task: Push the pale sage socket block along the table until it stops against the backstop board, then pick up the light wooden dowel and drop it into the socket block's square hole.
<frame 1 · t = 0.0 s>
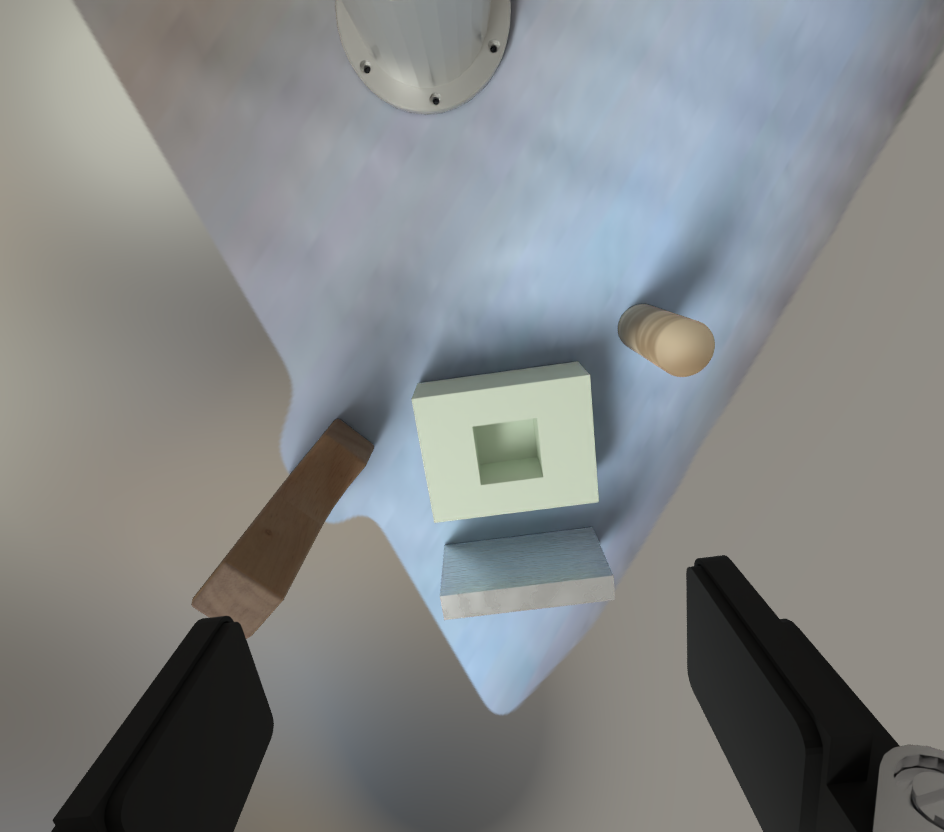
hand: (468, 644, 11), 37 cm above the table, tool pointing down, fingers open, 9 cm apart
wooden block: (329, 463, 50), on the table
socket block: (506, 441, 46), point 3 cm above the table, slide at 0.0 cm
backstop board: (519, 546, 52), on the table
wooden dowel: (640, 327, 45), on the table
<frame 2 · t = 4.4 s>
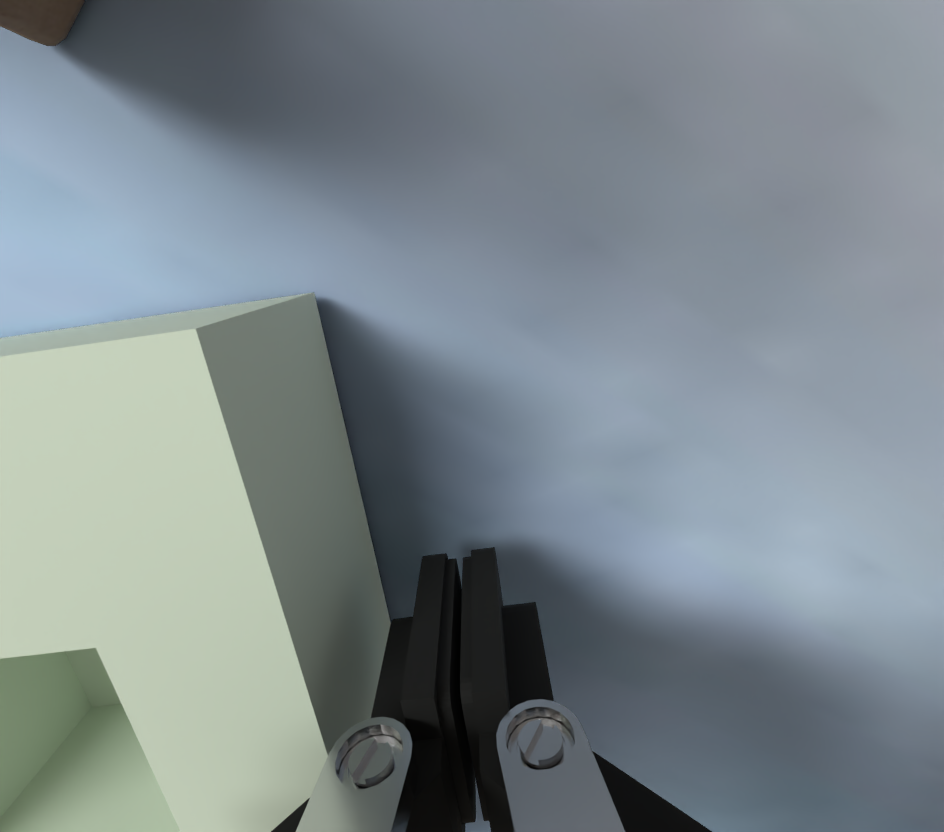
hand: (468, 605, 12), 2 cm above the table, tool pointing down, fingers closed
socket block: (102, 674, 11), point 3 cm above the table, slide at 1.7 cm, touching gripper
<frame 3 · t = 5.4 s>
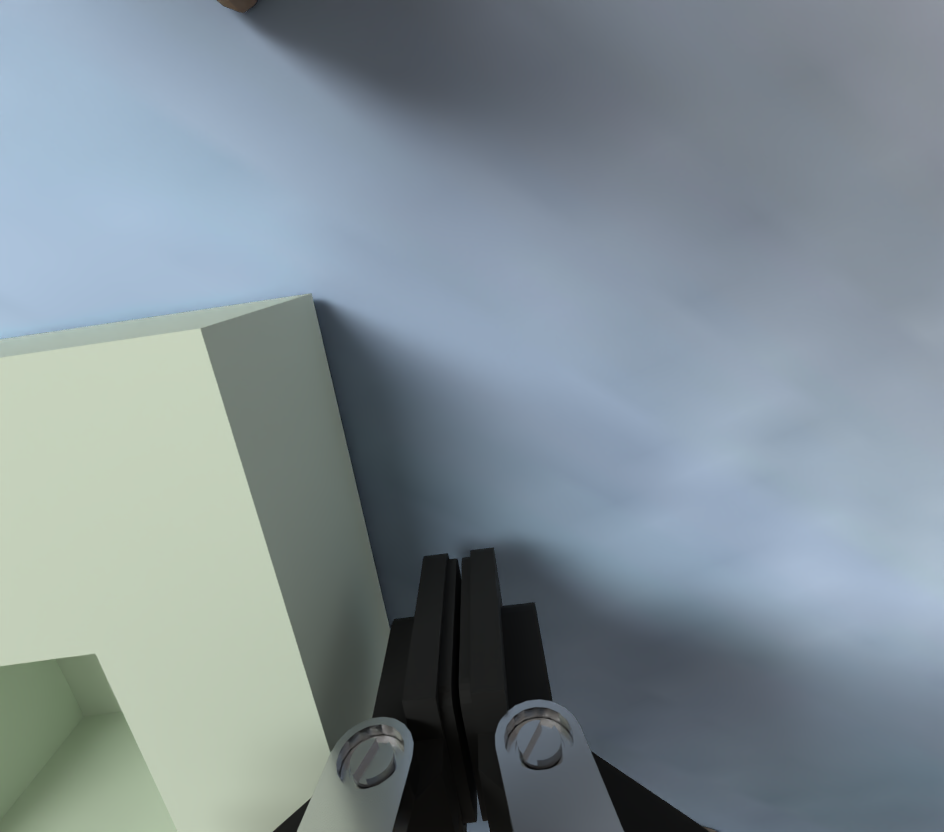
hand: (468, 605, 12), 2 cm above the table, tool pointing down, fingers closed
socket block: (97, 682, 11), point 3 cm above the table, slide at 5.4 cm, touching gripper
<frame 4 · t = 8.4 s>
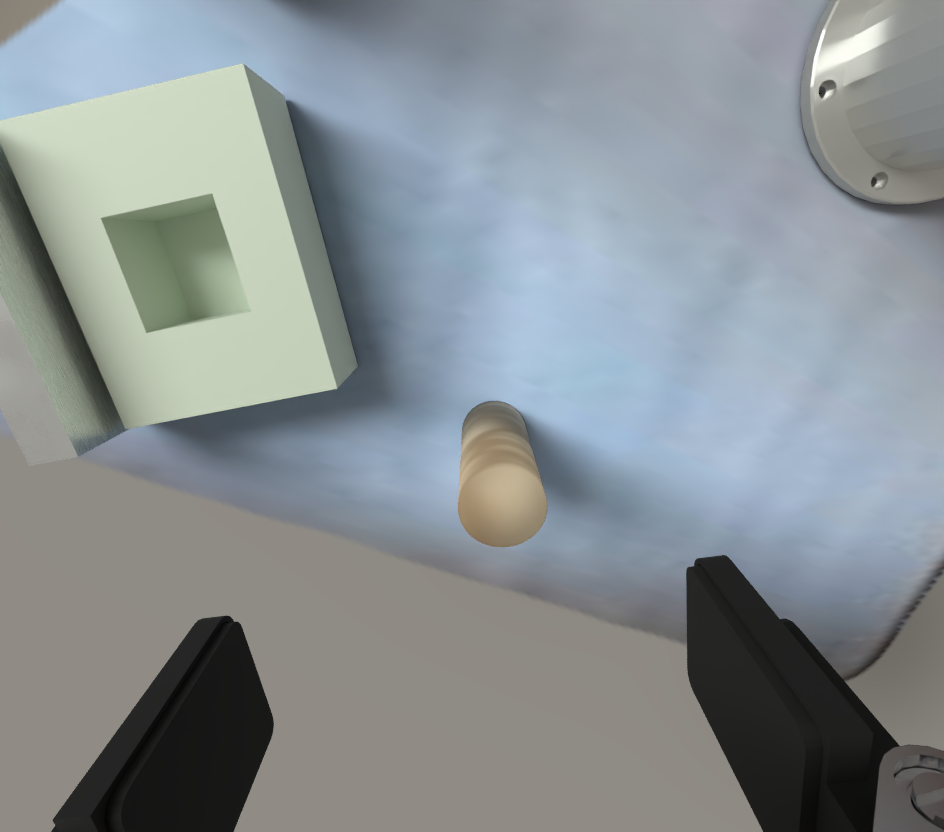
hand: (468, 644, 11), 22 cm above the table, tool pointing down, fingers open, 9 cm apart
socket block: (204, 264, 27), point 3 cm above the table, slide at 5.0 cm
backstop board: (102, 288, 30), on the table
wooden dowel: (493, 431, 33), on the table
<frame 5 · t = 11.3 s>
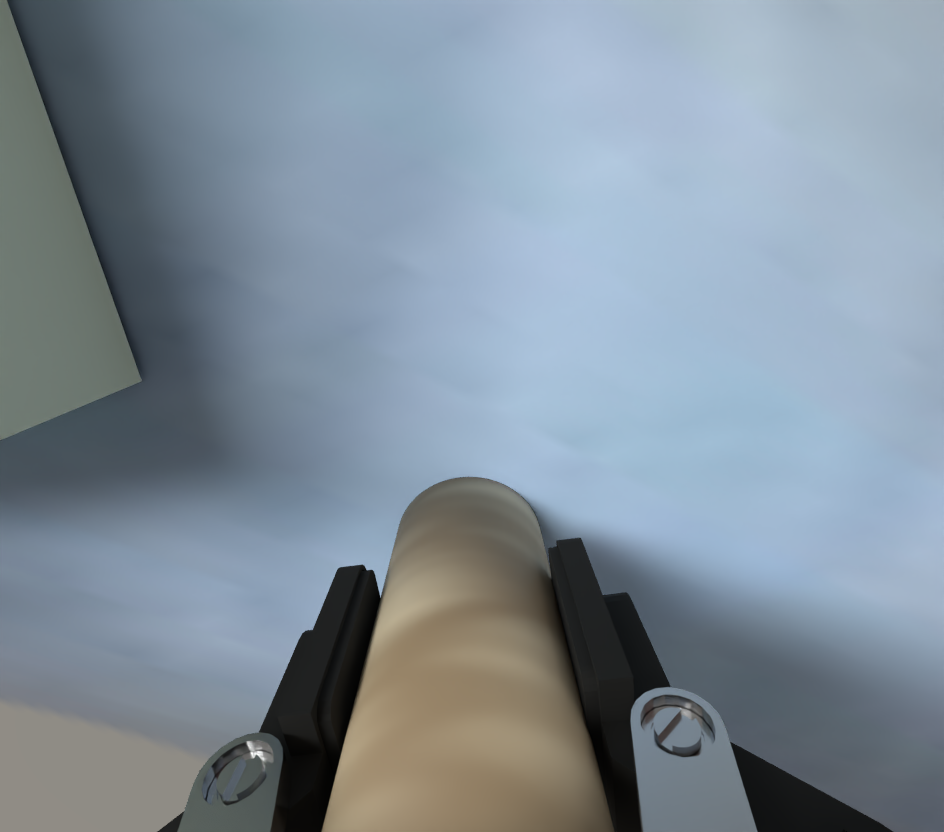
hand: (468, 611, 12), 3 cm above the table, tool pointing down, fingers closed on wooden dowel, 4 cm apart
wooden dowel: (469, 542, 14), on the table, touching gripper
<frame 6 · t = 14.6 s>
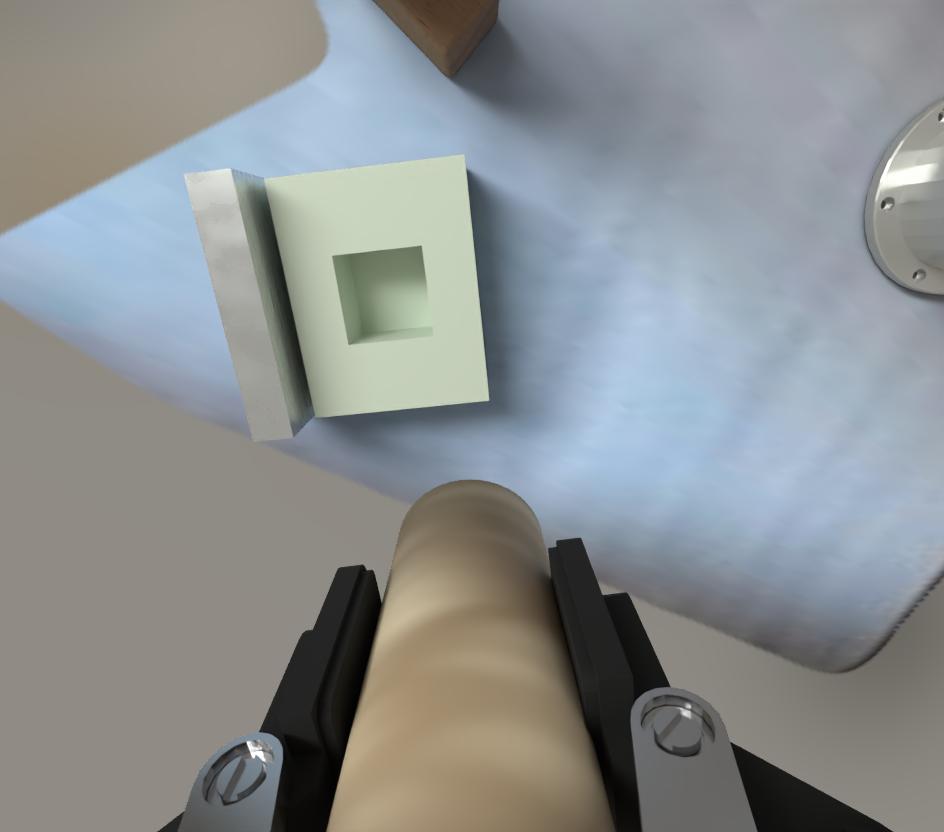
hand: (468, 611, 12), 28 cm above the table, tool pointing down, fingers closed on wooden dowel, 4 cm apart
socket block: (390, 293, 34), point 3 cm above the table, slide at 5.0 cm
backstop board: (291, 301, 37), on the table
wooden dowel: (470, 545, 14), point 25 cm above the table, touching gripper
when the fingers open (6 cm above the table, at t = 18.3 s): wooden dowel drops 2 cm, resting on socket block.
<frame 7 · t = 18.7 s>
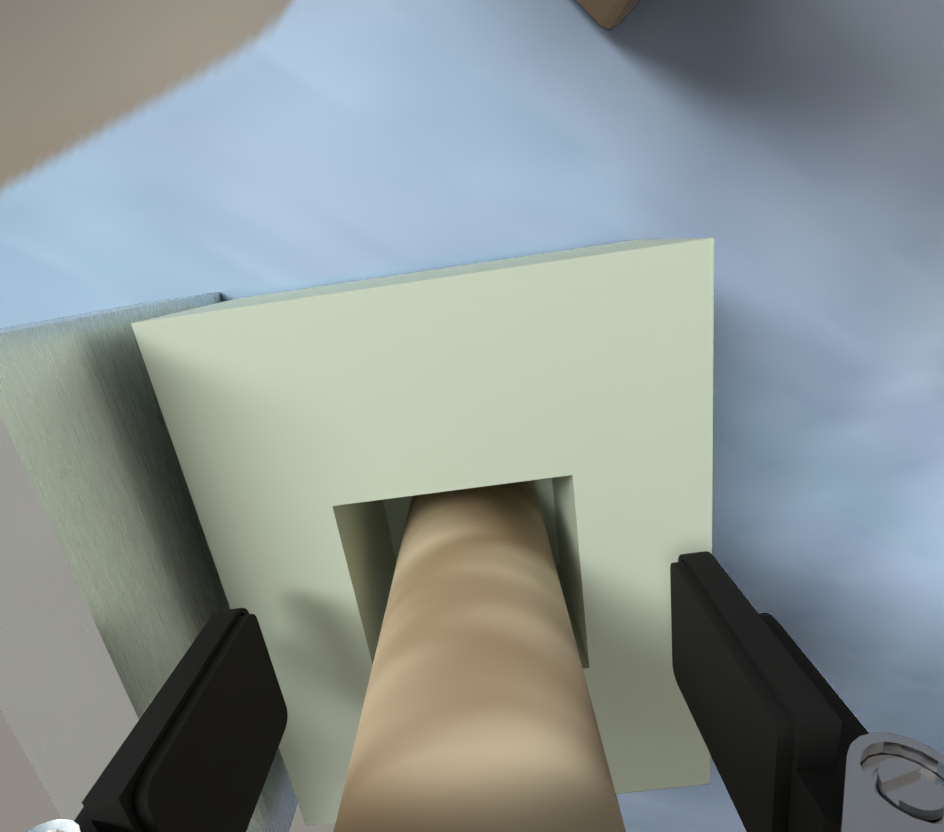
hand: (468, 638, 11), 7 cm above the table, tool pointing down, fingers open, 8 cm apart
socket block: (468, 535, 15), point 3 cm above the table, slide at 5.0 cm, touching wooden dowel
backstop board: (248, 520, 18), on the table
wooden dowel: (474, 504, 16), point 1 cm above the table, touching socket block
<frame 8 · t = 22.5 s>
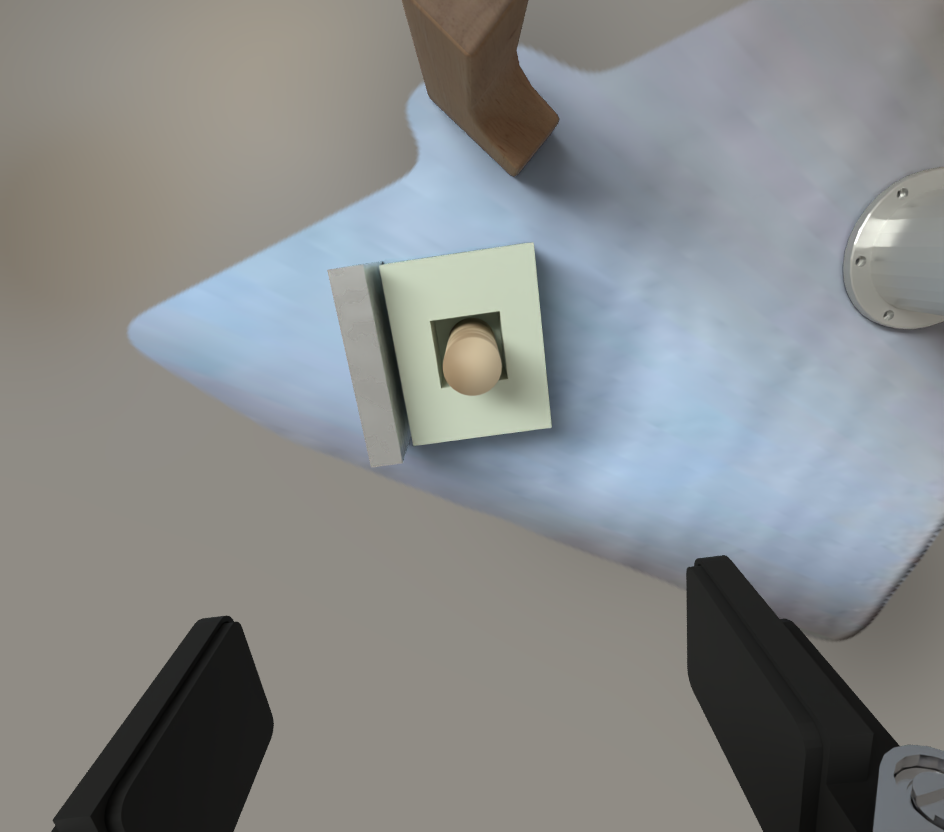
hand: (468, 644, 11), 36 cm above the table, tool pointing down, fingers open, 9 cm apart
wooden block: (489, 114, 40), on the table
socket block: (469, 344, 43), point 3 cm above the table, slide at 5.0 cm, touching wooden dowel
backstop board: (384, 351, 45), on the table
wooden dowel: (471, 341, 44), point 1 cm above the table, touching socket block
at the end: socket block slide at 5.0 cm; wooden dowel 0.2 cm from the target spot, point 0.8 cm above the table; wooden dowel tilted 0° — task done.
